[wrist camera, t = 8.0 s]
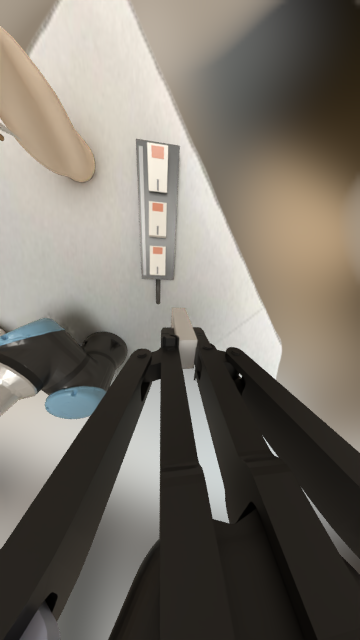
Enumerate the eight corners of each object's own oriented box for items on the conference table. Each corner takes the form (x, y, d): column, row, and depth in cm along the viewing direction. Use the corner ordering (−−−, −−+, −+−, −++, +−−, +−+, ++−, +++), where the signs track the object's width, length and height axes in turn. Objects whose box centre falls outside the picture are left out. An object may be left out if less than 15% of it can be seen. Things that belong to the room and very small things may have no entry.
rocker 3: (150, 275, 40) (149, 274, 39) (150, 247, 39) (149, 245, 38) (165, 275, 41) (165, 275, 39) (165, 248, 40) (165, 246, 38)
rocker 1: (149, 190, 34) (148, 190, 33) (147, 143, 30) (147, 142, 28) (166, 192, 35) (166, 192, 34) (167, 146, 30) (168, 145, 29)
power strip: (144, 303, 49) (142, 307, 46) (138, 148, 34) (135, 138, 31) (171, 303, 51) (172, 307, 47) (178, 154, 35) (179, 145, 32)
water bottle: (102, 195, 37) (-29, 82, 12) (61, 190, 35) (-182, 50, 10) (95, 135, 32) (-135, -253, 7) (49, 127, 31) (-422, -377, 6)
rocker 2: (149, 236, 37) (148, 234, 35) (149, 204, 35) (148, 200, 34) (165, 238, 37) (166, 236, 36) (166, 206, 36) (166, 202, 34)
